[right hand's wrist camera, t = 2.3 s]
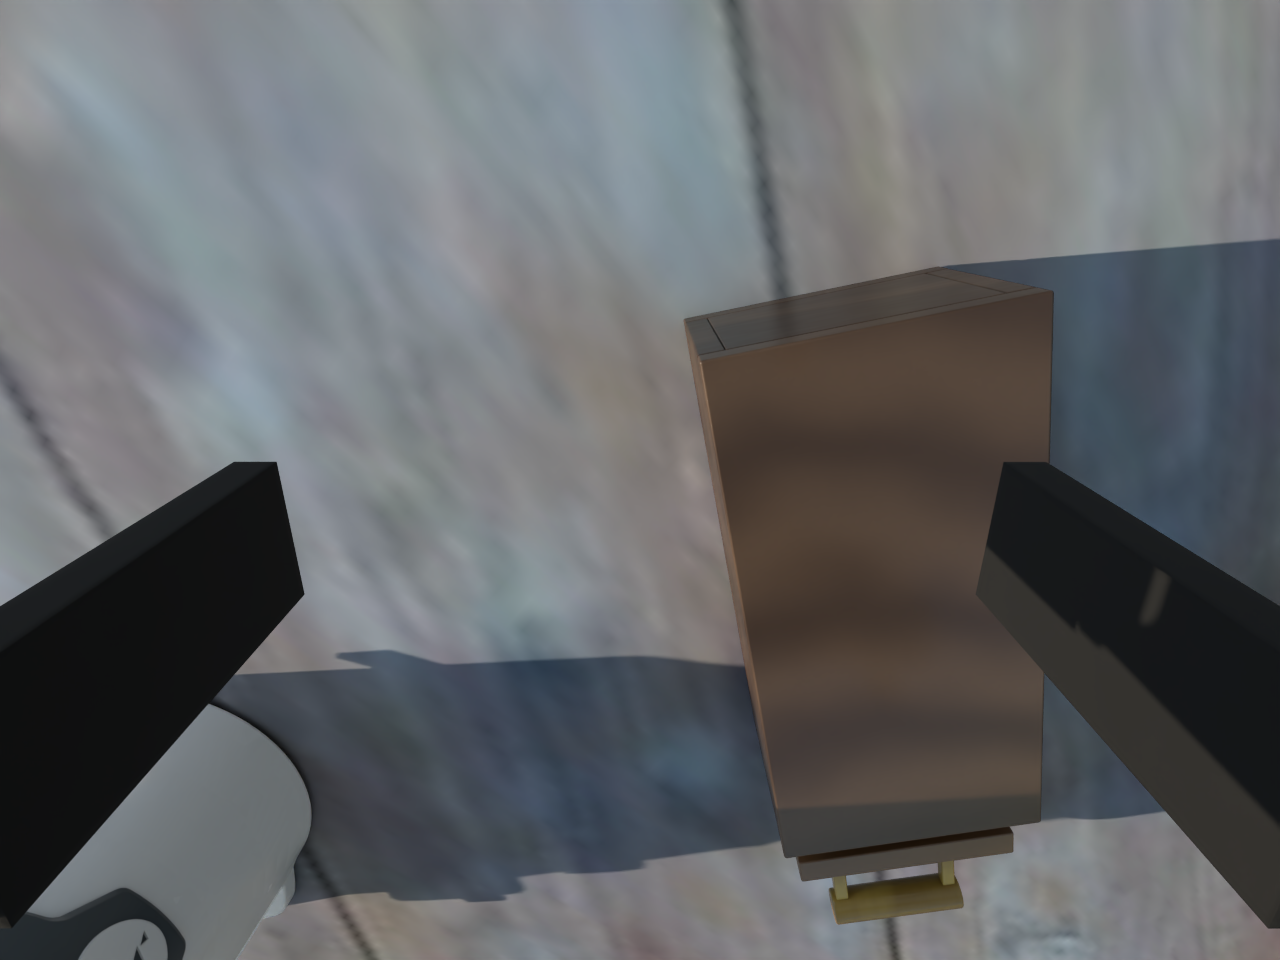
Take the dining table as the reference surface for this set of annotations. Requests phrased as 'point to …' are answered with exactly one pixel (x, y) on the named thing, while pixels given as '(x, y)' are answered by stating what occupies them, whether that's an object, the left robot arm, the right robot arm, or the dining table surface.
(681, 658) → the dining table surface
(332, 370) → the dining table surface
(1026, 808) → the cabinet
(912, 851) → the drawer
